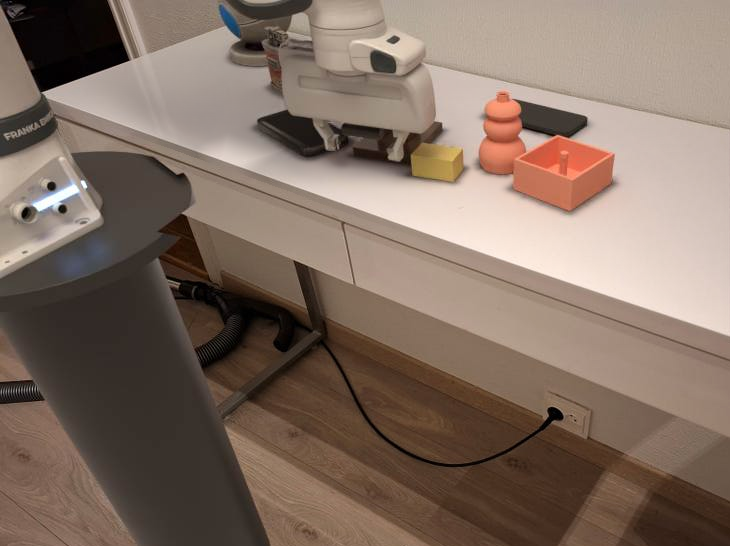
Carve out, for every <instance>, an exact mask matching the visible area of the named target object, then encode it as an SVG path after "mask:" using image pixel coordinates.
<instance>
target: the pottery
mask: <svg viewBox="0 0 730 546" xmlns="http://www.w3.org/2000/svg"><path fill="white" fill-rule="evenodd" d="M513 99H514V98H510V92H509V91H506V90H501V91H497V92H496V97H495V98H493V99H490V100H489V101H488V102H487V103H486V104H485V106H484V109H483V111H484V114H485V115H487V116H486V117H485V119H484V121H483V124H482V128H483V132H484V133H485V135H486V136H485V137H484V138H483V139H482V141H481V142H480V144H479V147H478V159H479V162H480V166H481V168H482V169H483V170H485V171H486V172H488V173H491V174H497V175H509V174H513V177H512V178H513V181H512V183H513V184H512V189H513V190H514V191H517V192H519V193H521V194H523V195H527V196H530V197H532V198H534V199H537V200H540V201H542V202H545V203H548V204H549V205H552V206H554V207H557V208H561V209H563V210H565V211H568V212H572V211H573V210H574V209H576V208H578V207H579V206H581V205H582V204H583V203H584V202H586V201H587V200H589V199H590V198H593V196H595V195H596V194H598V193H599V192H601V191H603V190H604V189H606V188H607V187H608V186H610V185H611V184H612V180H613V173H614V163H615V157H616V153H614V152H612V151H609V150H605V149H603V148H602V149H601V148H599V147H596V146H594V145H590V144H587V143H584V142H581V141H578V140H575V139H571V138H569V137H567V136H565V137H563V136H560V135H554V136H553V137H550V138H549V139H548V140H546V141H544V142H542V143H540V144H538V145H537V146H535V147H533V148H531V149H529V150H528V151H527V149H526V145H525V142H524V141H523V139H522V138H521V137H520V136H519V135H520V134H521V132H522V131H523V126H522V122H521V120H520V118H519V117H518V116H519V114H520V113H521V107H520V104H519V103H517V102H516V101H515V100H513Z"/></svg>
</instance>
